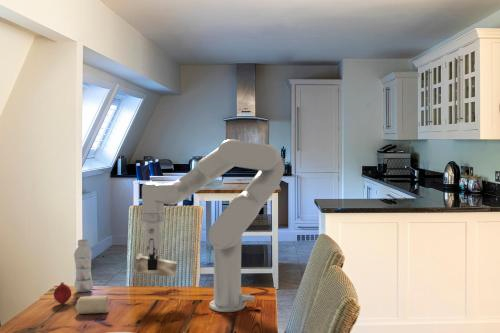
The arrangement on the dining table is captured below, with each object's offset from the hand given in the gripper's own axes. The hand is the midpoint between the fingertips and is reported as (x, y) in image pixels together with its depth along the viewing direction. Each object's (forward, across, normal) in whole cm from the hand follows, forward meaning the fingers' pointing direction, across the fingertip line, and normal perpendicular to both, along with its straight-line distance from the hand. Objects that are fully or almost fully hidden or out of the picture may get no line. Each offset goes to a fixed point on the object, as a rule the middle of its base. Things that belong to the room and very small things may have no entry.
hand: (152, 268), depth 172 cm
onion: (+13, +2, +32) cm, 34 cm away
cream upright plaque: (+2, 0, 0) cm, 2 cm away
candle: (+10, -8, +14) cm, 19 cm away
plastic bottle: (+13, +16, +28) cm, 35 cm away
